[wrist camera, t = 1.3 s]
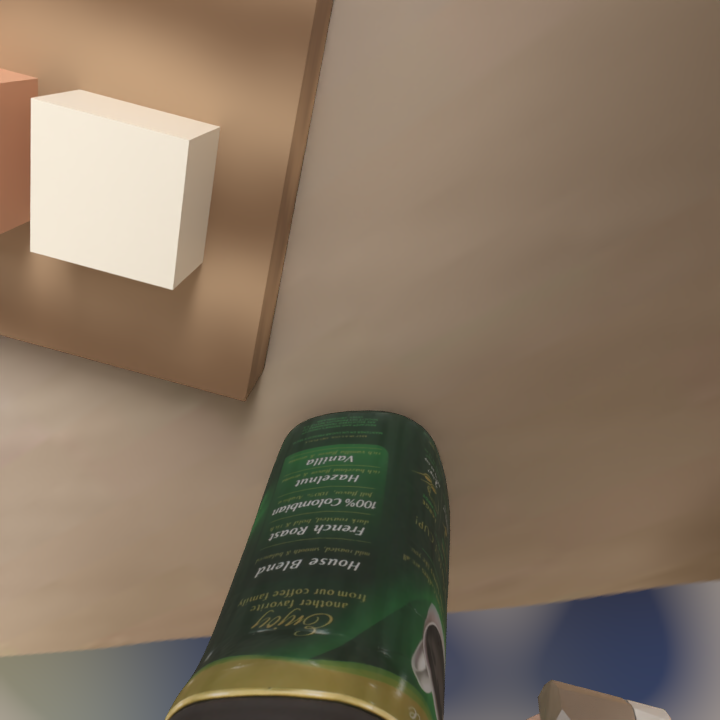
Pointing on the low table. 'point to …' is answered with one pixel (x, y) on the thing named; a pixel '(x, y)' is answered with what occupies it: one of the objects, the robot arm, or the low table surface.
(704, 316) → the low table surface
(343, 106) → the low table surface
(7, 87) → the tile
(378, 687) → the coffee jar
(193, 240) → the tile
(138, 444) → the low table surface
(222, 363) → the board
